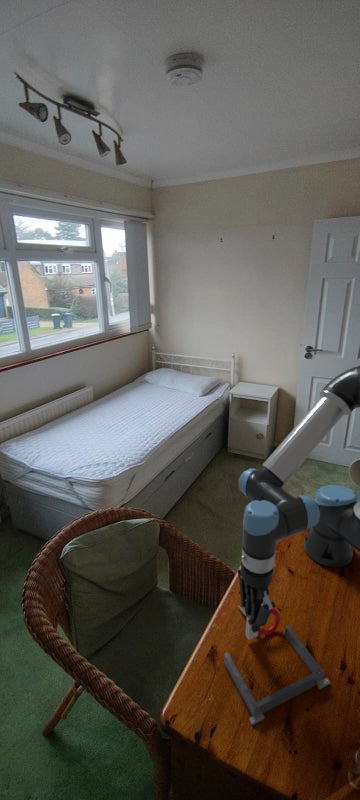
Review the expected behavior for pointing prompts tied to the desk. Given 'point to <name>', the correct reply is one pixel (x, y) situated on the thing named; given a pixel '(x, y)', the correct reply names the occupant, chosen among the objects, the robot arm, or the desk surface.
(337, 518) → the robot arm
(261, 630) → the tow hook
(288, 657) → the desk surface
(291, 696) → the bracket
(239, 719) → the desk surface
